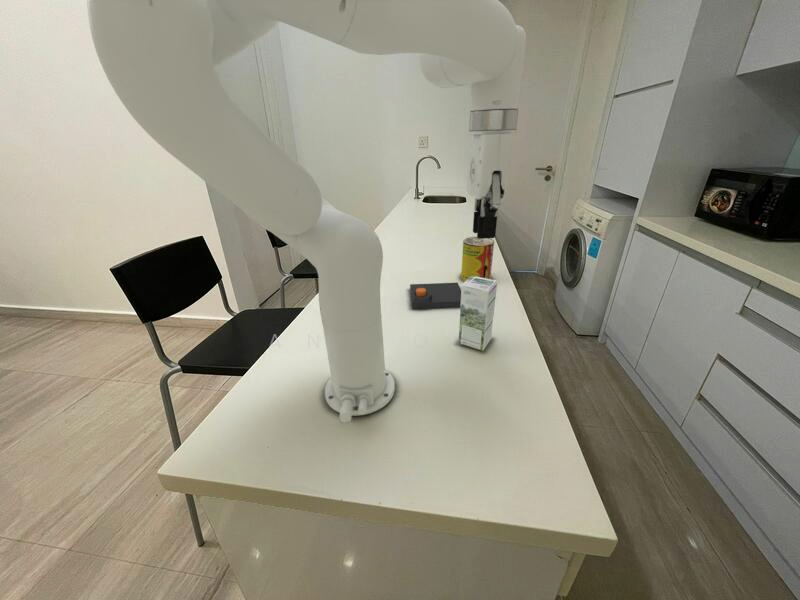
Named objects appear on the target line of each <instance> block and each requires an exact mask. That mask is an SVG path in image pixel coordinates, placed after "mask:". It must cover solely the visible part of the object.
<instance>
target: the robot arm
mask: <svg viewBox="0 0 800 600" xmlns="http://www.w3.org/2000/svg"><path fill="white" fill-rule="evenodd" d="M86 6H87V17H88V23H89V30H90V34H91V39H92V42H93V46H94V50H95V52H96V55H97V57H98V60H99V62H100V65H101V67H102V69H103V71H104V74H105V76H106V78H107V80H108V82H109V84H110V86H111V87H112V89H113V91H114V93H115V94H116V96H117V97H118V99H119V100H120V102H121V103H122V105H123V106H124V107H125V109H126V110H127V112H128V113H129V115H131V117H132V118H133V119H134V121H136V123H137V124H138V126H140V127H141V129H142V130H143V131H145V133H146V134H148V136H149V137H150V138H152V140H154V142H156V143H157V144H158V145H159V146H160V147H161V148H162V149H164V150H165V151H166V152H167V153H169V154H170V155H171V156H172V157H173V158H175V160H177V161H178V162H180V163H181V165H184V166H185V168H187V169H189V170H190V171H192V172H193V174H195V175H196V176H198V177H199V178H200V179H201V180H202V181H204V182H205V183H206V184H207V185H208V186H209V187H211V188H213V189H214V190H215V191H217V192H218V193H219V194H221V196H223V197H224V198H226V199H227V200H228V201H230V202H231V203H232V204H234V205H235V206H236V207H237V208H239V209H240V210H241V211H242V212H243V213H244V214H245V215H246V216H247V217H248V218H249V219H250V220H251V221H252V222H253V223H255V224H256V225H257V226H259V227H260V228H262V229H264V230H266V231H268V232H270V233H271V234H273V236H275V237H277V238H278V239H279V240H281V241H282V242H284V244H287V245H288V246H289V247H290V248H292V249H293V250H295V251H296V252H297V253H299V254H300V255H301V256H303V258H305V259H306V260H307V261H308V262H309V263H310V264H311V265H312V266H313V267H314V268H315V270H316V272H317V277H318V306H319V312H320V318H321V319H320V320H321V323H322V324H321V325H322V330H323V336H324V341H325V347H326V354H327V360H328V366H329V367H328V368H329V372H330V378H329V379H328V380H327V381H326V384H325V386H324V398H325V401H326V403H327V405H328V406H329V407H330V408H331V409H332V410H333V411H335V412H337V413H339V416H338V420H339V421H340V422H342V423H345V424H347V423H350V422H351V420H352V417H353V416H355V417H356V416H365V415H369V414H372V413H374V412H378V411H379V410H381V409H383V408H384V407H385V406H386V405H387V404H389V403H390V401H391V400H392V398H393V397H394V394H395V391H396V384H395V378H394V376H393V375H392V374H391V373H390V372H389V370H388V369H386V362H385V349H384V334H383V320H382V318H383V317H382V305H381V279H382V272H383V271H382V270H383V263H384V252H383V246H382V242H381V240H380V238H379V236H378V234H377V233H376V231H375V230H374V229H373V228H372V227H371V225H369V224H368V223H367V222H365V221H363V220H362V219H360V218H358V217H356V216H353V215H351V214H349V213H347V212H343V211H341V210H338V209H337V208H335V207H334V206H333V205H332V204H331V203H329V201H327V199H325V198H324V196H322V194H321V190H320V188H319V185H318V184H317V182H316V181H315V179H314V177H313V176H312V175H311V174H310V173H309V171H308V170H307V169H306V168H304V167H303V166H302V165H301V164H300V163H298V162H297V161H296V160H295V159H293V158H292V157H291V156H290V155H289V153H287V152H286V151H285V150H284V149H283V148H282V147H280V146H279V145H278V144H277V143H276V141H274V140H273V139H272V138H271V137H270V136H269V135H267V133H266V132H264V131H263V130H262V128H260V127H259V126H258V125H257V124H256V123H255V122H254V121H253V120H252V119H251V118H250V117H249V115H248V114H247V113H245V111H244V110H243V109H242V108H241V107H240V106H239V105H238V104H237V103H236V102H235V101H234V100H233V98H232V97H231V95H230V94H229V93H228V92H227V90H226V89H225V87H224V85H223V84H222V82H221V81H220V79H219V78H220V77H219V76H218V74H217V71H216V68H218V67H219V66H221V65H223V64H225V62H227V61H229V60H230V59H232V58H233V57H236V56H237V55H238V54H239V53H241V52H243V51H244V50H246V49H247V48H249V47H250V46H252V45H253V44H254V43H256V42H257V41H259V40H261V38H263V37H264V36H265V35H267V34H268V33H269V32H271V31H272V30H273V29H274V28H275V27H277V25H278V24H279V23H283V24H286V25H289V26H291V27H294V28H296V29H298V30H300V31H304V32H306V33H309V34H311V35H314V36H316V37H318V38H321V39H323V40H326V41H329V42H331V43H333V44H336V45H338V46H342V47H343V48H346V49H348V50H351V51H353V52H356V53H358V54H365V55H373V56H374V55H375V56H388V55H398V54H419V66H420V70H421V72H422V75H423V76H424V78H425V79H426V80H427V81H428V82H429V83H430V84H431V85H433V86H435V87H437V88H441V89H451V88H457V87H462V86H470V103H469V104H470V105H469V119H468V135H469V136H472V137H471V145H470V152H469V160H468V170H467V182H466V191H467V192H468V193H469V194H470V195H471V196H472V197H473V198H474V208H473V209H474V211H473V219H472V220H473V222H472V232H473V233H474V234H476V237H478V238H479V239H484V238H490V239H494V238H496V234H497V225H498V224H497V223H498V216H499V208H500V207H501V204H502V201H501V200H502V199H503V198H505V197H506V195H507V192H508V188H509V187H508V186H509V178H510V166H511V151H512V150H511V149H512V134H516V133H517V126H518V118H519V108H520V99H521V91H522V82H523V74H524V64H525V55H526V46H527V34H526V33H527V32H526V31H525V29H524V28H523V27H522V26H520V25H518V24H516V22H515V19H514V17H513V15H512V14H511V12H510V11H509V9H508V8H507V7H506V6H505V5H504V4H503V3H502V2H501V1H500V0H86Z"/></svg>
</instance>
